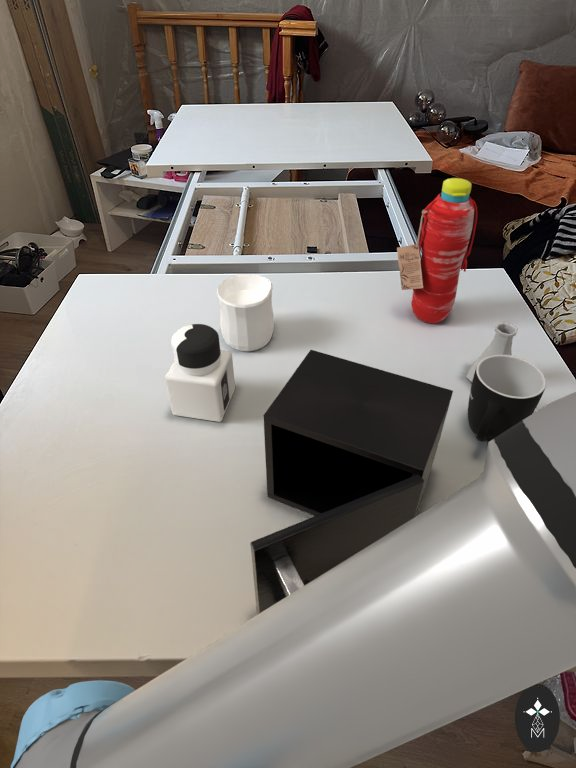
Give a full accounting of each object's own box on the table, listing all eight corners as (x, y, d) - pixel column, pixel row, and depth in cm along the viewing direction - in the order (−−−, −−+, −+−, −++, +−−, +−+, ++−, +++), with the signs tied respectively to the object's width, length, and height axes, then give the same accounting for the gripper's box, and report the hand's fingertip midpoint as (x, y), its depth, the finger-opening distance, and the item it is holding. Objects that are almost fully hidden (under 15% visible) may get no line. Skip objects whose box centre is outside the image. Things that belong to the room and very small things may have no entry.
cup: (265, 315, 99) (263, 268, 92) (283, 346, 92) (283, 298, 86) (215, 325, 97) (209, 278, 90) (230, 358, 90) (225, 310, 83)
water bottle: (392, 328, 96) (414, 191, 79) (386, 303, 102) (405, 171, 85) (459, 328, 96) (495, 191, 79) (449, 303, 102) (481, 171, 85)
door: (433, 603, 58) (462, 527, 48) (283, 679, 52) (281, 610, 42) (398, 552, 62) (418, 473, 53) (257, 616, 57) (249, 541, 47)
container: (235, 388, 84) (229, 321, 75) (221, 423, 78) (212, 354, 70) (189, 382, 85) (177, 314, 76) (171, 415, 80) (157, 347, 71)
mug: (473, 397, 82) (490, 346, 75) (532, 422, 78) (555, 370, 71) (441, 445, 75) (456, 393, 68) (504, 475, 71) (526, 422, 64)
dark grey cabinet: (402, 551, 63) (423, 470, 53) (267, 497, 69) (263, 415, 59) (430, 472, 71) (453, 390, 61) (308, 430, 77) (310, 349, 67)
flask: (457, 378, 86) (471, 327, 79) (482, 358, 89) (497, 308, 83) (497, 400, 82) (516, 349, 75) (522, 379, 85) (541, 328, 79)
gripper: (110, 847, 40) (253, 581, 56) (311, 984, 35) (405, 649, 51) (85, 828, 35) (250, 542, 51) (316, 985, 30) (418, 613, 46)
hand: (327, 596), depth 51 cm, fingers open, 3 cm apart
